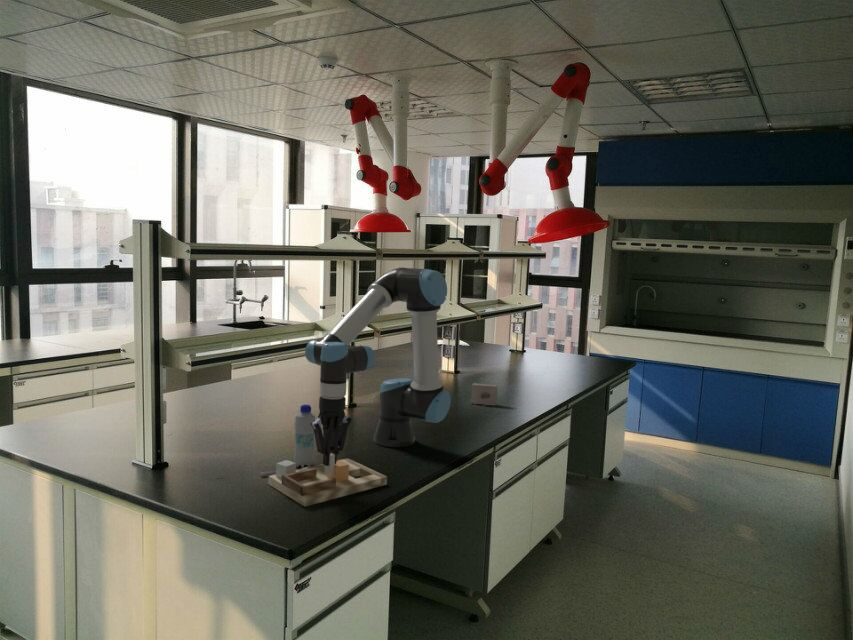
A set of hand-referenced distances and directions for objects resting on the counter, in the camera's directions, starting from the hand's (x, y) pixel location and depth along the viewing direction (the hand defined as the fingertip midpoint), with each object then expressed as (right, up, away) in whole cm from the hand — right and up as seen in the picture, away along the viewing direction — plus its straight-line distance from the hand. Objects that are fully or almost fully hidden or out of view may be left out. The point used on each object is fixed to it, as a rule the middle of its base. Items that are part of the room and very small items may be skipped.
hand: (329, 475), depth 189 cm
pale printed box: (+55, +6, +113) cm, 126 cm away
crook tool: (-17, -2, +9) cm, 19 cm away
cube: (+2, -1, +2) cm, 3 cm away
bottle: (-11, -2, +19) cm, 22 cm away
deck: (-1, -4, +4) cm, 5 cm away
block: (-13, -1, +2) cm, 13 cm away
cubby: (-5, -2, -5) cm, 7 cm away
